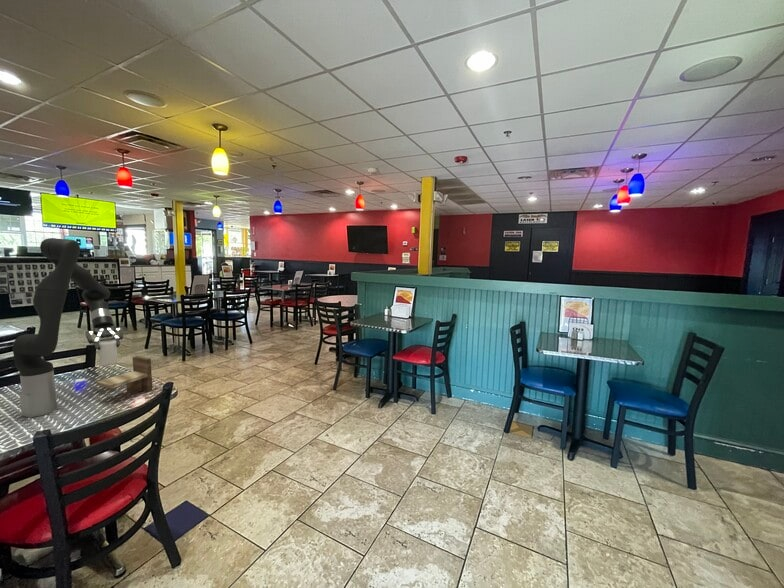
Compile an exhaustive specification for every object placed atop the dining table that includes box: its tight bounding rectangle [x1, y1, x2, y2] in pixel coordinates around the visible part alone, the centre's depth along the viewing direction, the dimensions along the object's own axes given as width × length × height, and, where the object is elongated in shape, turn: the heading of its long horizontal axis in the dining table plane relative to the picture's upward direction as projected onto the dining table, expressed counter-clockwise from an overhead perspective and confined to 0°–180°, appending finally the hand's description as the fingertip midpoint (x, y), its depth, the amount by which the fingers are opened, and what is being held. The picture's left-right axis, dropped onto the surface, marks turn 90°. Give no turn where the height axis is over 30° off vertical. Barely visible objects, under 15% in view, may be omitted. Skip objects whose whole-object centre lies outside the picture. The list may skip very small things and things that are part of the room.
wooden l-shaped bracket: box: [96, 355, 154, 396], centre depth 148 cm, size 17×10×16 cm, turn 161°
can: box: [98, 337, 119, 367], centre depth 151 cm, size 6×6×12 cm
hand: (108, 347), depth 150 cm, fingers closed on can, 6 cm apart
